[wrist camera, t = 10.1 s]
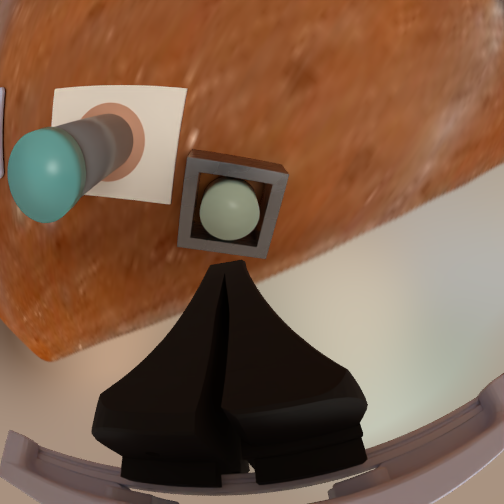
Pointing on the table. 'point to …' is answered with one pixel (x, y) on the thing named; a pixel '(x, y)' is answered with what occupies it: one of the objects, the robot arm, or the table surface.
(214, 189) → the button
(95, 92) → the paper
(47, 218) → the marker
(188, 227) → the button base
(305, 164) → the table surface
